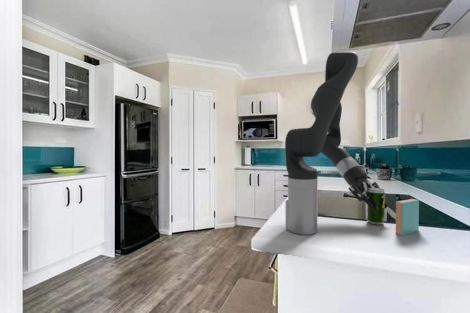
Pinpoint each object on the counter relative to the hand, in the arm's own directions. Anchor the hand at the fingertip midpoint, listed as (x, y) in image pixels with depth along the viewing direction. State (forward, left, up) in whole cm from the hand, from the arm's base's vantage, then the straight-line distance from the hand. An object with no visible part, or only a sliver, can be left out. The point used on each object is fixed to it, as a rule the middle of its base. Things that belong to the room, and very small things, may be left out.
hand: (380, 208), depth 85 cm
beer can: (-2, +1, -6) cm, 6 cm away
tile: (+8, -3, -6) cm, 10 cm away
